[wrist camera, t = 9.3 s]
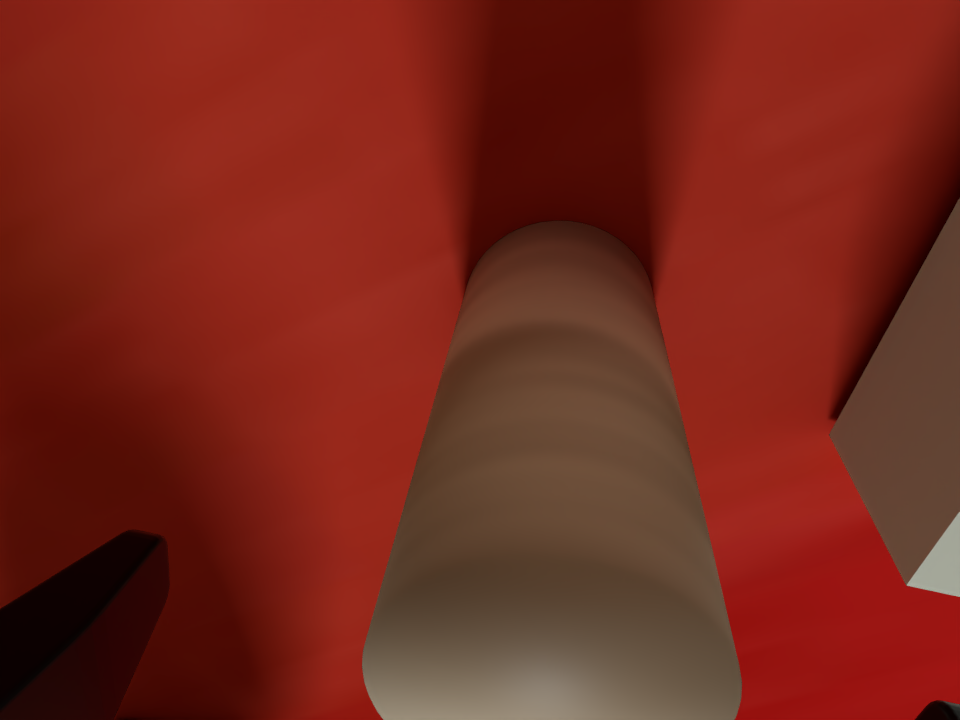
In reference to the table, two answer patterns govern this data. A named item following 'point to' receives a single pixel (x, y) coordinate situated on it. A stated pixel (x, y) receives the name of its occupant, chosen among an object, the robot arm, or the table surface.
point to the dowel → (554, 510)
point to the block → (914, 425)
